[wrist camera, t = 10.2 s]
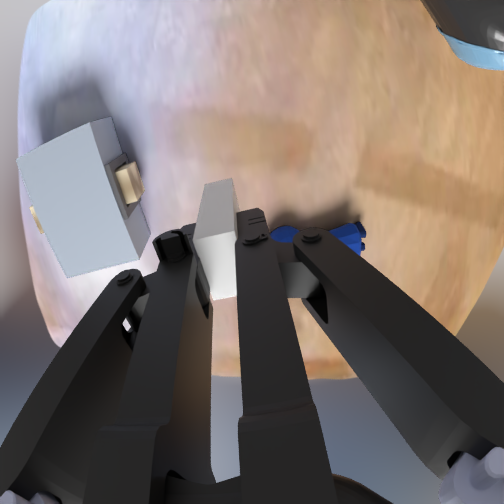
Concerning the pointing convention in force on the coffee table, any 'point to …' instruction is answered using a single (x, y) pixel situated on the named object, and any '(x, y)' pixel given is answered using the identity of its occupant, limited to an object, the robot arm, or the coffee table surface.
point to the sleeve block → (84, 199)
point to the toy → (345, 233)
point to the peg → (128, 184)
